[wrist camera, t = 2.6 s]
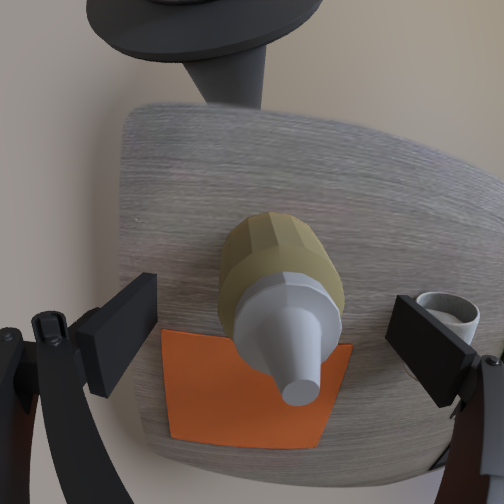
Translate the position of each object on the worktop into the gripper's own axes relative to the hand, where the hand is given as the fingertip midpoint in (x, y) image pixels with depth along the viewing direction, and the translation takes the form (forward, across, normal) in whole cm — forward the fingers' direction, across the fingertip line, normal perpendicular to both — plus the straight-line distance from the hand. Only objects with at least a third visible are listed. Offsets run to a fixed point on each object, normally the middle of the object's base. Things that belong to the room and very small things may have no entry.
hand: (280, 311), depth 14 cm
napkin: (+12, 0, -18) cm, 21 cm away
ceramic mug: (+12, +20, -6) cm, 24 cm away
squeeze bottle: (+12, 0, 0) cm, 12 cm away
